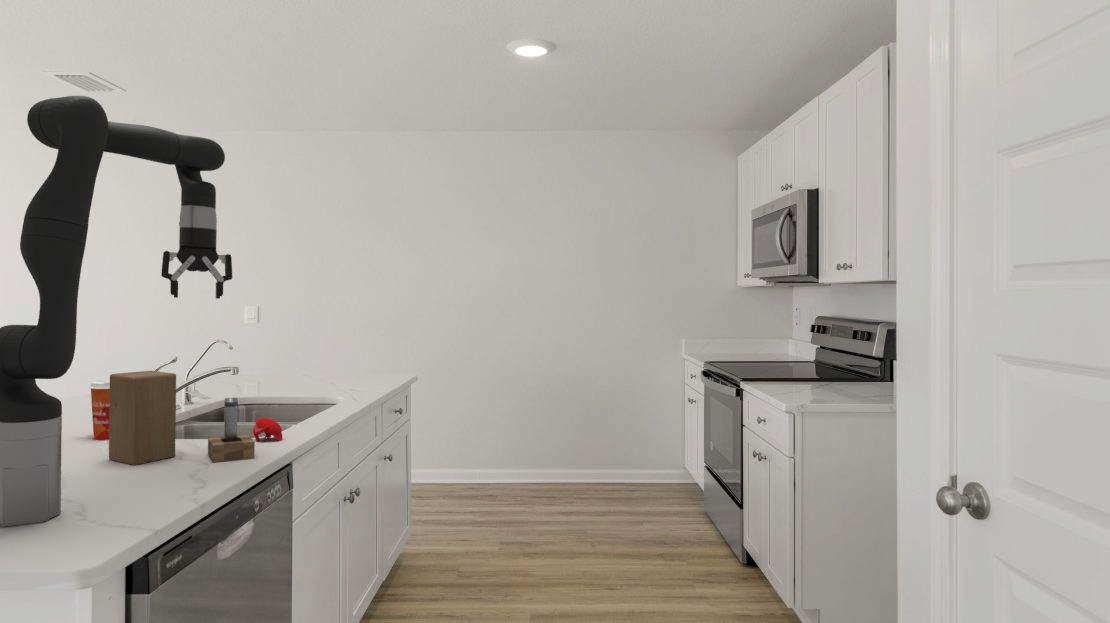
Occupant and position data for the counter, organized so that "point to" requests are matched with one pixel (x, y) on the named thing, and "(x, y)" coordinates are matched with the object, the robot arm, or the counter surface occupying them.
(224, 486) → the counter surface
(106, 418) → the coffee cup
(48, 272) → the robot arm
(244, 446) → the checkered wooden holder
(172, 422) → the wooden block
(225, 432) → the grey metal cylinder
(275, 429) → the cap
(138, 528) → the counter surface
